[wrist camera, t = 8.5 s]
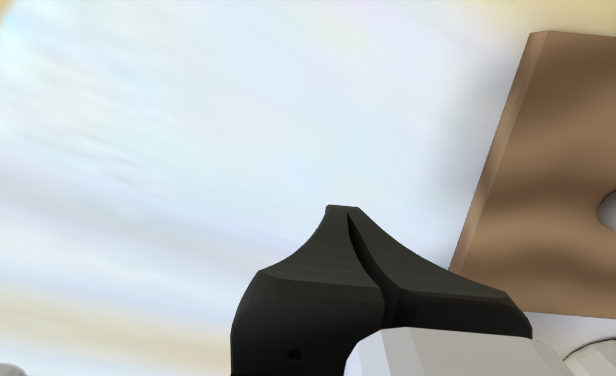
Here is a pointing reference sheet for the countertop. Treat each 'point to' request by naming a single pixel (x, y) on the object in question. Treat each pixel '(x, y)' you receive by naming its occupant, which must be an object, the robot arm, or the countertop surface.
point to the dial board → (550, 183)
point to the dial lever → (608, 212)
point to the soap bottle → (594, 360)
